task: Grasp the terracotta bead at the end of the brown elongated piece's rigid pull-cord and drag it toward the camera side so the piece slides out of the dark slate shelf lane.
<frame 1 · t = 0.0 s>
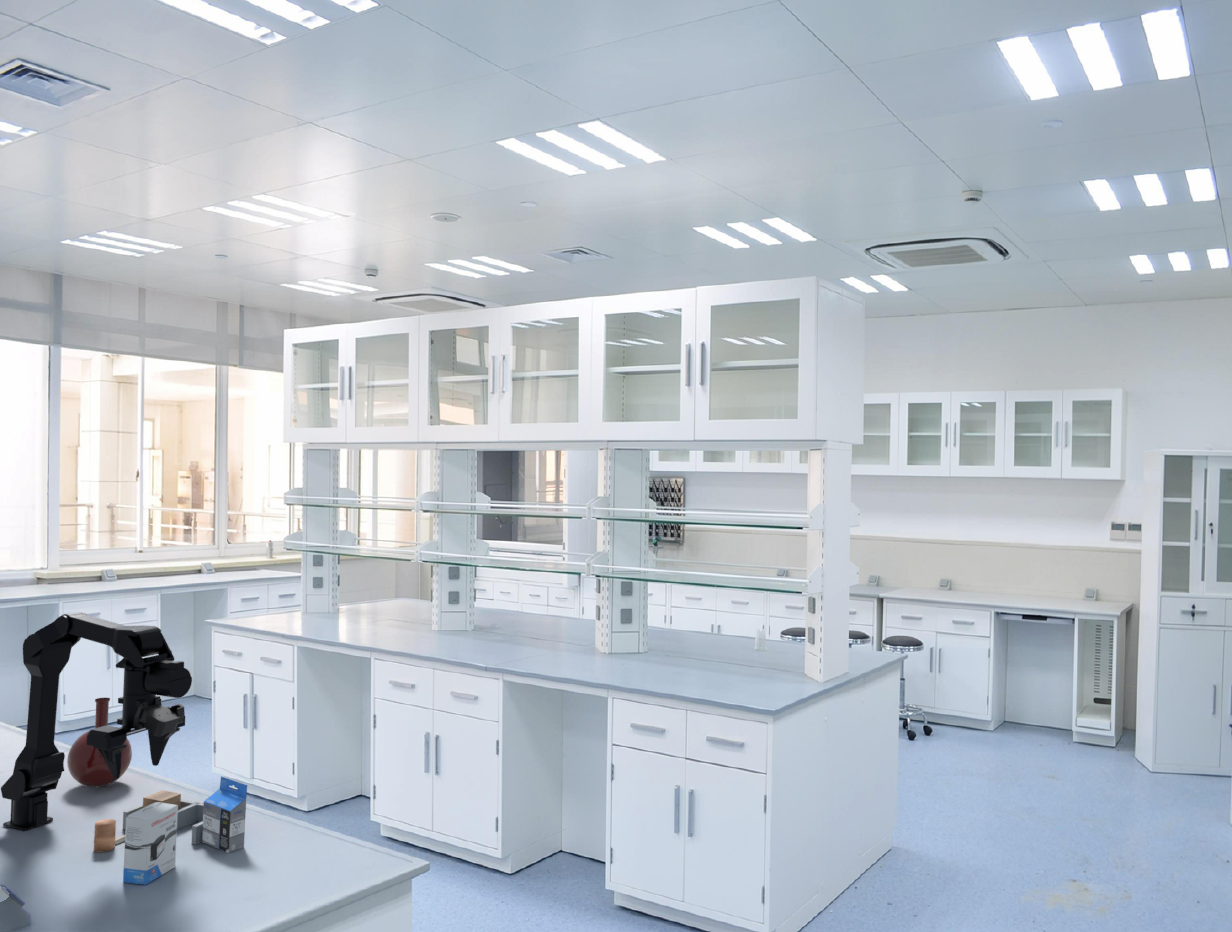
hand: (136, 771, 183), 15 cm above the lab bench, fingers open, 9 cm apart
shelf lane: (160, 824, 195), on the lab bench
brown elongated piece: (160, 824, 195), on the lab bench
label tape cartridge: (222, 846, 186), on the lab bench
round-bottom flask: (98, 786, 217), on the lab bench
ink box: (149, 875, 171), on the lab bench
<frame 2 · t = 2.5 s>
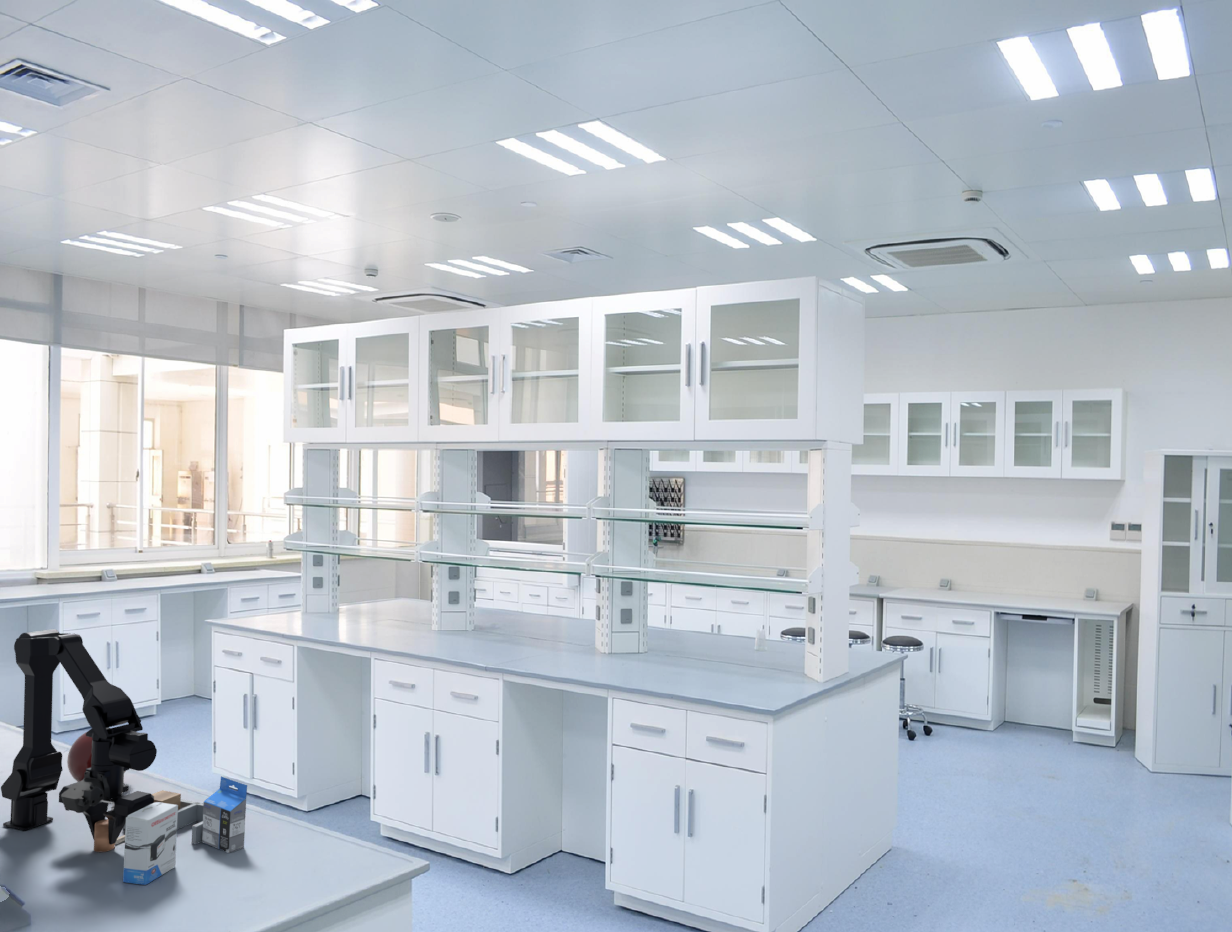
hand: (104, 841, 182), 1 cm above the lab bench, fingers closed on brown elongated piece, 4 cm apart
brown elongated piece: (160, 824, 195), on the lab bench, touching gripper
everything else where it was.
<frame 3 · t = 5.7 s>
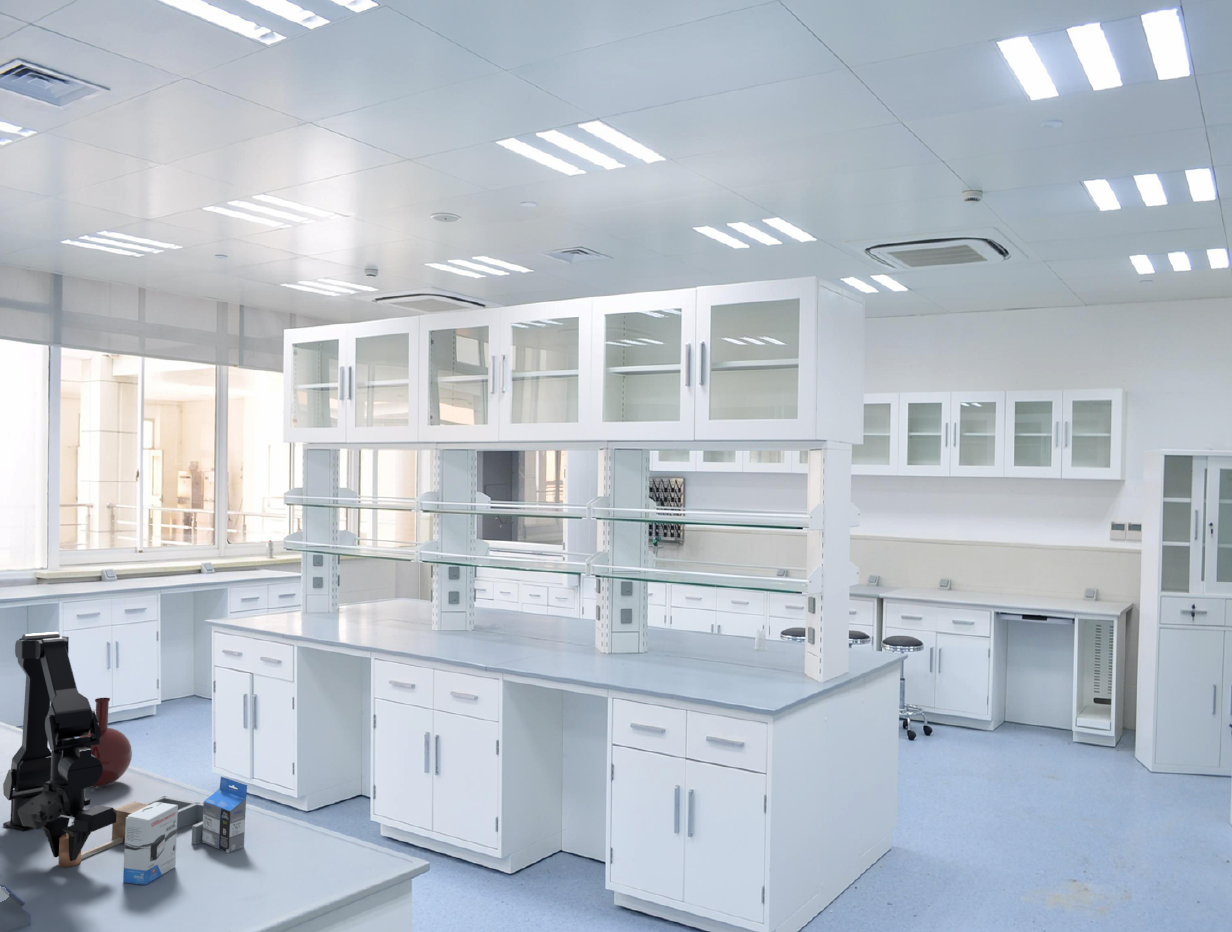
hand: (65, 858, 174), 1 cm above the lab bench, fingers closed on brown elongated piece, 4 cm apart
brown elongated piece: (131, 837, 188), on the lab bench, touching gripper
everything else where it was.
when the fingers open (1 cm above the lab bench, at t = 5.7 s): brown elongated piece stays where it is, on the lab bench.
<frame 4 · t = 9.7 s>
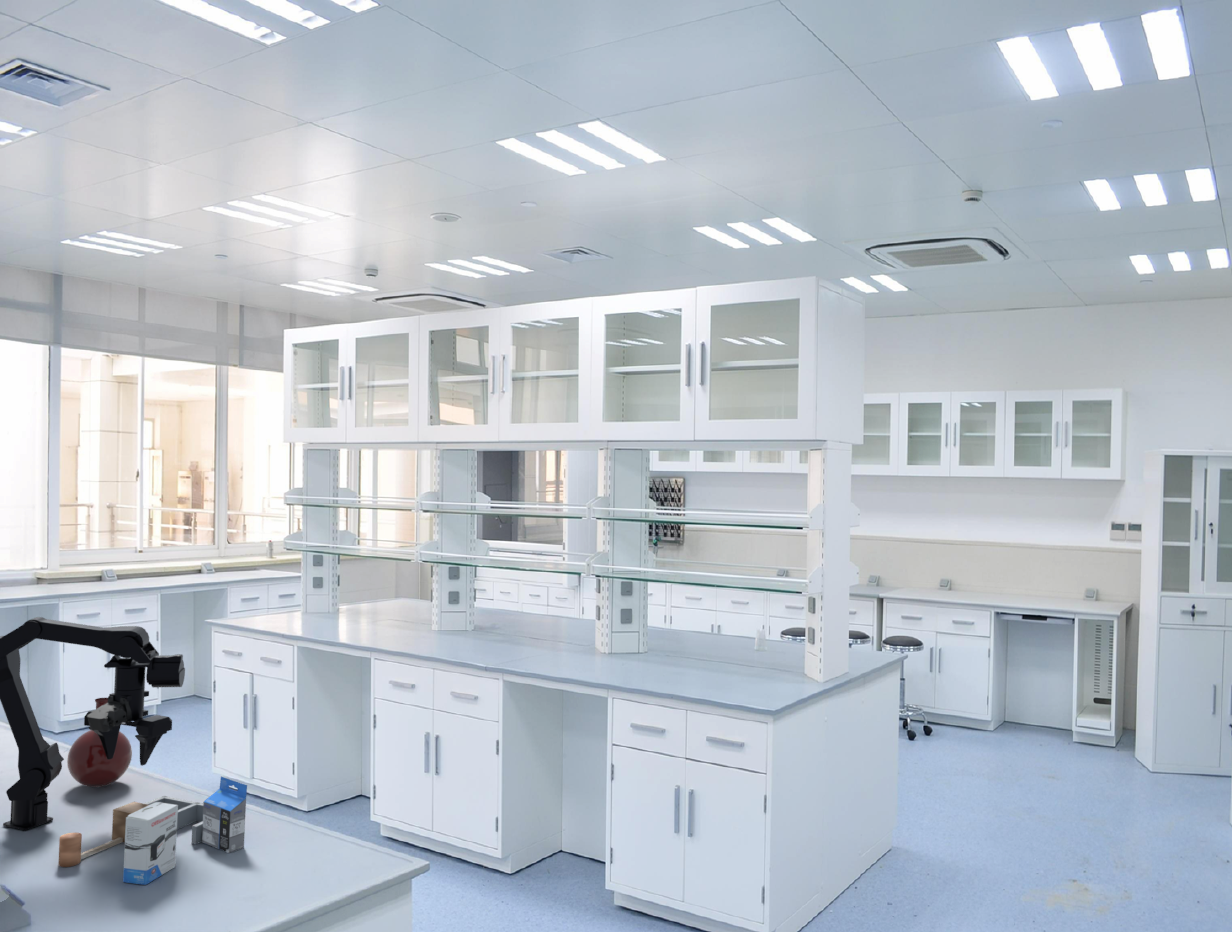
hand: (126, 761, 197), 12 cm above the lab bench, fingers open, 9 cm apart
brown elongated piece: (131, 837, 188), on the lab bench
everything else where it was.
at the end: brown elongated piece inside the target area (4.7 cm from its centre), on the lab bench; brown elongated piece moved 7.6 cm from its start; the gripper is holding nothing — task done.
